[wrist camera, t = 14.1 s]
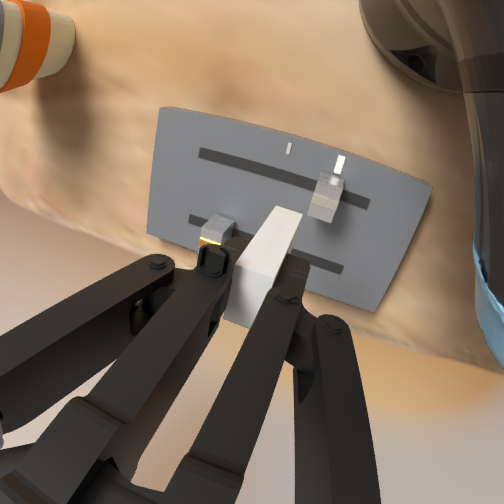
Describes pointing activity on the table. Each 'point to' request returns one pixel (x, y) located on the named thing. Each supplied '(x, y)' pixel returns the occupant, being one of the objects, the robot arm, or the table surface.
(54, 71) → the reusable coffee cup
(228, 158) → the console
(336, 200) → the fader
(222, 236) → the fader
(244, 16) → the table surface
